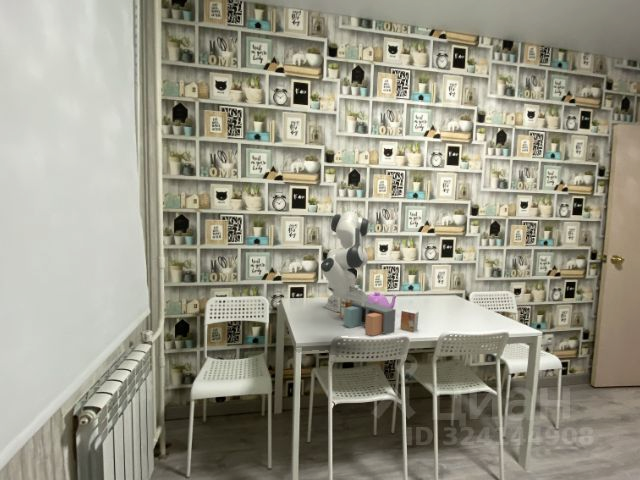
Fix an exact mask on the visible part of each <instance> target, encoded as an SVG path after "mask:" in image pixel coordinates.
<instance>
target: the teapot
mask: <svg viewBox="0 0 640 480" xmlns="http://www.w3.org/2000/svg"><path fill="white" fill-rule="evenodd" d="M367 296H368V299H367V302H370V303H374V304H377V305H381V306H385V307H388V308H392V309H395V304H396V298H397V297H398V296H399V294H394V295H393V296H392V299H391V302H390V301H389V299H388V298H387V297H386V295H384V294H381V292H380V291H375V292H374V293H370V294H368V295H367Z"/></svg>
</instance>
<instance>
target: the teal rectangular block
mask: <svg viewBox="0 0 640 480" xmlns="http://www.w3.org/2000/svg"><path fill="white" fill-rule="evenodd" d="M362 323H363V322H362V307H359V306H351V307H347V308H344V320H343V326H344V327H346V328H349V329H352V328H355V327H359V326H361V325H362Z"/></svg>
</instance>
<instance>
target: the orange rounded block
mask: <svg viewBox="0 0 640 480" xmlns="http://www.w3.org/2000/svg"><path fill="white" fill-rule="evenodd" d="M383 319H384V314H382V313H379V312H375V313H371V314H367V315H366V328H365V327H364V329H365V334H366V335H368V336H372V337H373V336H376V335H377V336H378V335H380V334H383Z"/></svg>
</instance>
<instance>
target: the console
mask: <svg viewBox="0 0 640 480" xmlns="http://www.w3.org/2000/svg"><path fill="white" fill-rule="evenodd" d="M351 306H359V307H362V323H364V329H365V328H366V315H367V314H371V313H375V312H379V313H382V314H384V319H383V333H382V335H388V334H391V333H395V326H396V325H395V324H396V310H397V309H395V308H393V309H392V308H388V307H385V306H381V305H377V304H374V303H370V302H367V301H366V302H365V305H364V306H361V305H360V302H357V301H353V302H351Z"/></svg>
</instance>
